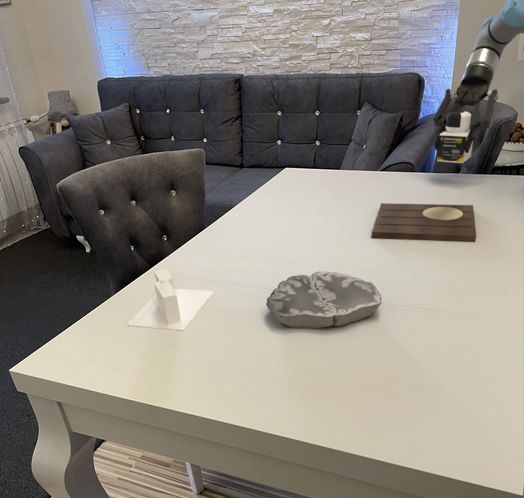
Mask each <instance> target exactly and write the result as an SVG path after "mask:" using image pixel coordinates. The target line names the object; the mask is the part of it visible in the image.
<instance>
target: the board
mask: <svg viewBox="0 0 524 498" xmlns="http://www.w3.org/2000/svg"><path fill="white" fill-rule="evenodd" d="M474 210H475V209H474V205H473V204H441V203H439V204H438V203H437V204H436V203H432V204H431V203H385V202H384V203H383V202H381V203H380V204H379V208H378V210H377V214H376V217H375V220H374V224H373V225H372V226H373V227H372V230H371V236H370V237H371V239H391V240H413V241H415V240H419V241H441V242H442V240H443V242H471V243H472V242H473V243H475V242H476V240H477V228H476V220H475V219H476V218H475V213H474V212H475V211H474Z"/></svg>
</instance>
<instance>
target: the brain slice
mask: <svg viewBox="0 0 524 498" xmlns="http://www.w3.org/2000/svg"><path fill="white" fill-rule="evenodd" d="M266 301H267V302H266V303H265V304H266V307H267V308H268V310H269V311H270V313H271V316H272V317H273V318H274V319H276V320H277V322H279V323H281V324H283V325H284V326H288V327H291V328H294V329H299V328H302V329H304V328H305V329H322V328H330V327H331V326H334V327H341V326H346V325H348V324H350V323H355V322H357V321H361V320H362V319H365V318H368V317H370V316H372V314H374V313H375V311H377V310H378V309H379V307H380V306H381V304H382V294H381V293H380V292H379V290H378V288H377V287H376V285H374V284H373V283H372V282H370V281H365V280H363V279H361V278H359V277H353V276H351V275H349V274H343V273H339V272H336V271H335V272H334V271H330V272H329V271H316V272H314V273H311V275H307V274H299V275H291V276H289V277H287V278H286V280H282V281H281V282H279V283H278V284H277V287H276V288H274V289H273V290H272V292H271V293H270V295H269V296H268V297H267V298H266Z"/></svg>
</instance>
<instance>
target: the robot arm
mask: <svg viewBox="0 0 524 498" xmlns="http://www.w3.org/2000/svg"><path fill="white" fill-rule="evenodd" d="M520 34H524V0H507V1H505V3H504V5H502V7H501V9H499V11H498V12H497V13H494V14H492V15H489V16H488V17H486V19H485V20H484V21H483V24H482V26H481V27H480V29H479V32H478V35H477V38H476V41H475V43H474V47H473V49H472V51H471V54H470V56H469V59H468V62H467V64H466V67H465V70H464V73H463V75H462V78H461V81H460V84H459V86H458V87H457V88H456V89H453V90H451V88H447V89H446V90H445V93H444V98H443V99H442V101H441V103H440V105H439V107H438V109H437V111H436V112H435V114H434V116H433V118H432V121H433V124H434V126H435V127H436V130H435V133H434V136H435V141H434V143H433V146H434V150H435V151H436V152H438V146H439V136H440V134H441V133H443V132H444V131H446V130H447V129H446V120H447V115H448V114H449V113H451V112H455V111H460V110H462V108H464V107H467V106H470V107H474V120H475V124H471V125H470V128H469V130H470V131H469V134H468V137H467V140H466V142H465V145H464V150H465V153H468V152H469V149H470V147H471V144H472V141H473V142H474V141H477V139H478V137H479V135H480V132H481V131H482V130H483V129H486V130H487V129H489V128H490V126H491V123H492V122H491V121H492V120H491V119H492V116H493V112H494V107H495V104H496V102H497V100H498V99H499V93H498V89H496V88H494V89H493V90H489V89H490V86H491V84H492V82H493V78H494V75H495V73H496V70H497V67H498V65H499V63H500V59H501V57H502V54H503V52H504V50H505V48H506V46H508V44H509V43H511V42H512V41H513V40H514V39H515V38H516V37H517V36H518V35H520ZM455 97H456V98H455ZM454 98H455V99H454ZM486 98H487V103H486V108H485V113H484V116H483V117H484V118H483V120H482V114H481V102H482V101H483V100H484V99H486ZM453 100H454V101H453ZM452 101H453V103H452ZM451 103H452V104H451Z"/></svg>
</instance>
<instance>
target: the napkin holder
mask: <svg viewBox="0 0 524 498" xmlns="http://www.w3.org/2000/svg"><path fill="white" fill-rule="evenodd" d="M154 277H155V281H154V282H153V286H154V289H155V290H154V291H155V295H153V296H152V297H151V298H150V299H149V301H148V302H147V303H146V304H145V305H144V306H143V307H142V308H141V309H140V310H139V311H138V312H137V313H136V314H135V315H134V316H133V317H132V318H131V319H130V320H129V322H127V323H126V326H131V327H141V328H153V329H162V330H163V329H164V330H172V331H173V330H175V331H185V330H186V328H188V326H189V325H190V323H191V322H192V321H193V320H194V318H195V317H196V316H197V314H198V313H199V312H200V311H201V309H202V308H203V307H204V306H205V304H206V303H207V301H208V300H209V299H210V297H211V296H212V295H213V294H214V293H215V291H213V290H202V289H201V290H199V289H186V288H175V282H174V277H173V276H172V274H171V273H170V272H169V270H168V269H167V268H165V269H161V270H156V271H154Z"/></svg>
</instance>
